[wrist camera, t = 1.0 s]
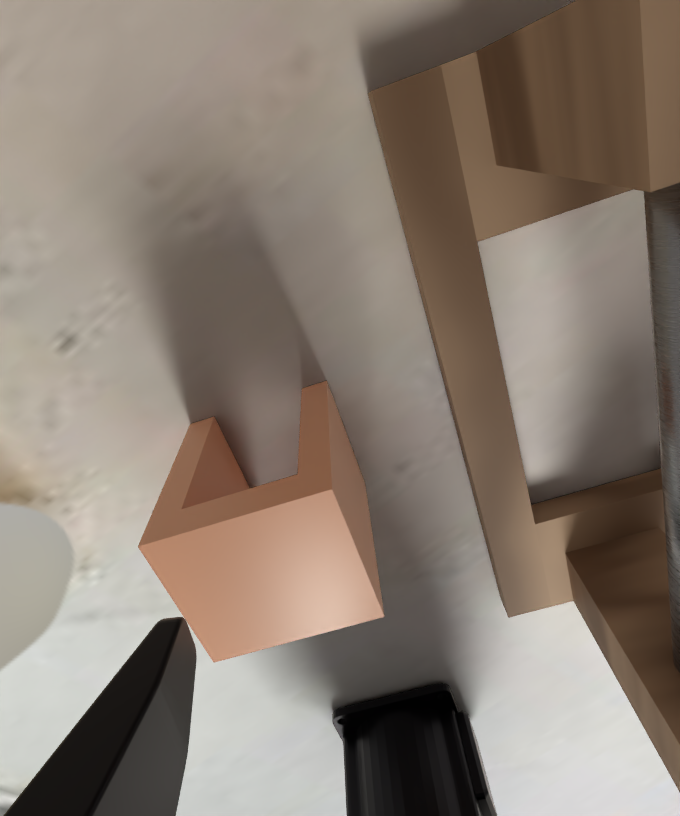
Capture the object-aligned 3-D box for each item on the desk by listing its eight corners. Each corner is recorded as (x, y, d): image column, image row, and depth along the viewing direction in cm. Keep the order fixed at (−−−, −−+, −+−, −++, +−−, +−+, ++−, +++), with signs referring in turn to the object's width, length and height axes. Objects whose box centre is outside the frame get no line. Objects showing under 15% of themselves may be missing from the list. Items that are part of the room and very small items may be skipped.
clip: (241, 520, 23) (213, 662, 17) (190, 423, 21) (138, 546, 15) (365, 483, 23) (384, 616, 16) (326, 380, 20) (331, 488, 14)
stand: (500, 597, 26) (591, 822, 17) (368, 93, 16) (426, 49, 8) (713, 541, 25) (920, 751, 16) (708, -34, 15) (1209, -248, 7)
